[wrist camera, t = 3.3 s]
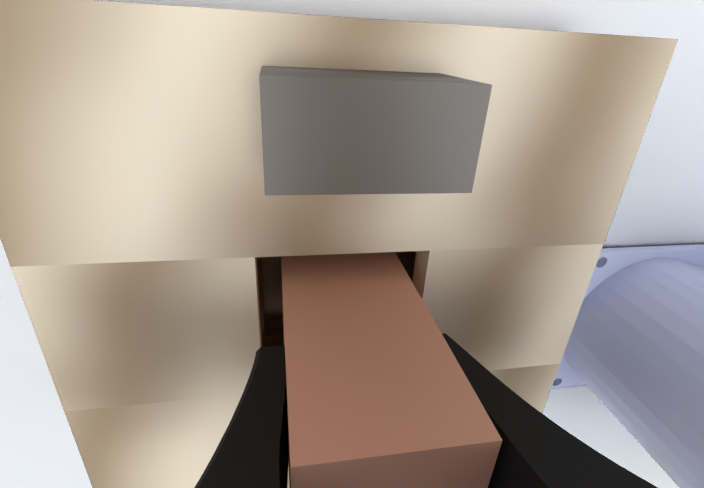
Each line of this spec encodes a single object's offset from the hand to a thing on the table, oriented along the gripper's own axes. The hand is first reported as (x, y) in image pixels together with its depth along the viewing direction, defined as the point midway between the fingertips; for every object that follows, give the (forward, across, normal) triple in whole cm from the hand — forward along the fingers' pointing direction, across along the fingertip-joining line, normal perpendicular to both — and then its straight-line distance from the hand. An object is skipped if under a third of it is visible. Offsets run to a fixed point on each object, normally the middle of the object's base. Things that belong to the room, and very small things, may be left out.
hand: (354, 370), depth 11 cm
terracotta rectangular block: (+5, 0, 0) cm, 5 cm away
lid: (+3, 0, 0) cm, 3 cm away
